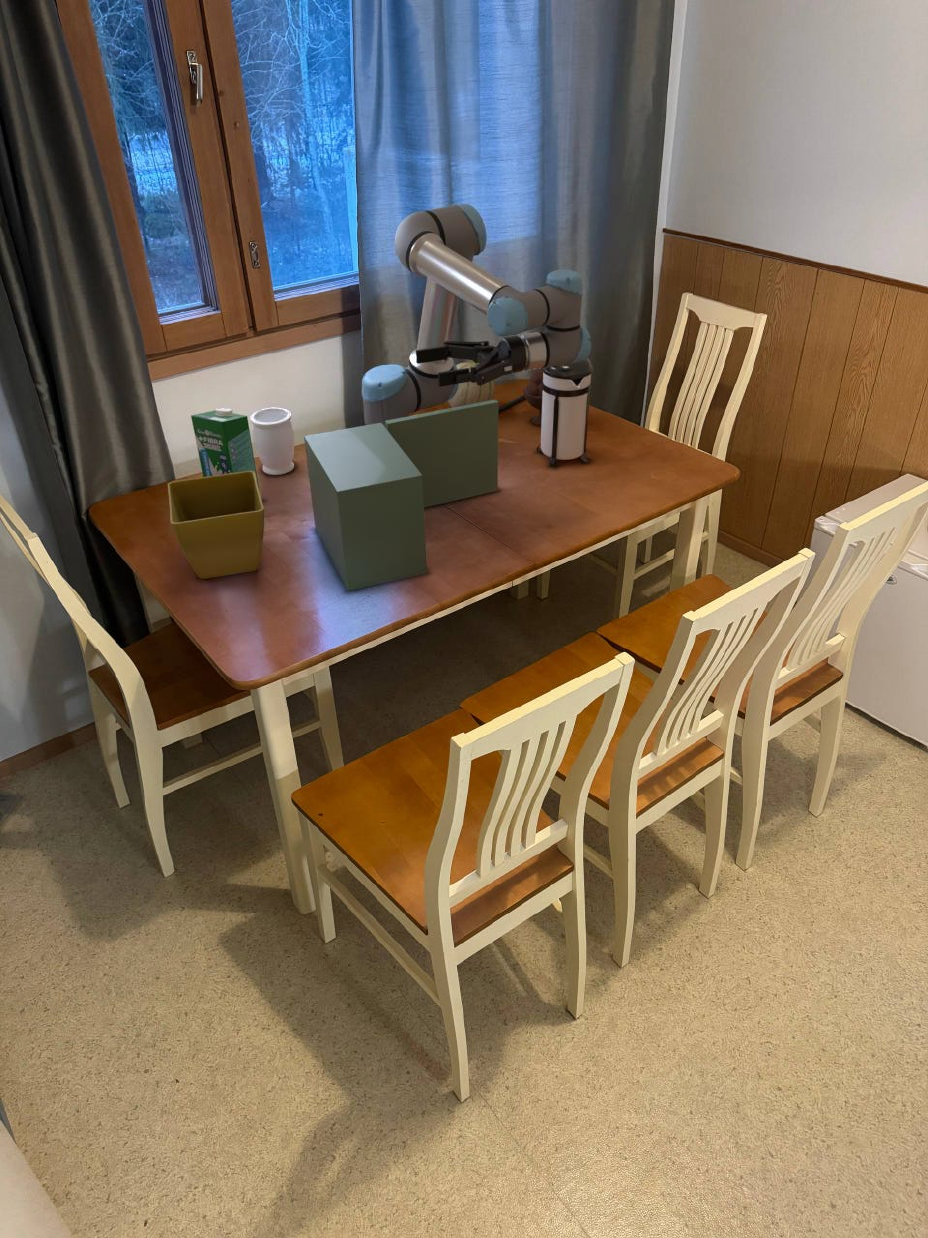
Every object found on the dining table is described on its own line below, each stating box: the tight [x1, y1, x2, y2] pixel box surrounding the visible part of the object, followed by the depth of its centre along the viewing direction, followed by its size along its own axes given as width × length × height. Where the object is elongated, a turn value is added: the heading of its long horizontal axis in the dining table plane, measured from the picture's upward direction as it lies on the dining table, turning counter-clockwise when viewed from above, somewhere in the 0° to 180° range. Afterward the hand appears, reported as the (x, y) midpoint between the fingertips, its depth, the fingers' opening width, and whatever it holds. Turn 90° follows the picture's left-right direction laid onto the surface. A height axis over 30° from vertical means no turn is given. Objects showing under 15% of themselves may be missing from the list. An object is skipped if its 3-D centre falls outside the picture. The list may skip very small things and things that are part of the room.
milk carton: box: [190, 407, 261, 493], centre depth 222 cm, size 9×9×25 cm
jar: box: [249, 407, 295, 476], centre depth 241 cm, size 11×10×15 cm
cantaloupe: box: [447, 360, 496, 408], centre depth 269 cm, size 15×15×15 cm
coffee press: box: [536, 357, 594, 468], centre depth 241 cm, size 17×16×30 cm
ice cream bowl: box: [522, 368, 543, 427], centre depth 262 cm, size 11×11×15 cm
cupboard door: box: [385, 398, 499, 509], centre depth 225 cm, size 8×28×24 cm, turn 114°
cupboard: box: [303, 423, 428, 592], centre depth 204 cm, size 18×28×24 cm, turn 21°
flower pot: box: [167, 471, 265, 580], centre depth 204 cm, size 19×19×17 cm
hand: (427, 367), depth 192 cm, fingers open, 13 cm apart
